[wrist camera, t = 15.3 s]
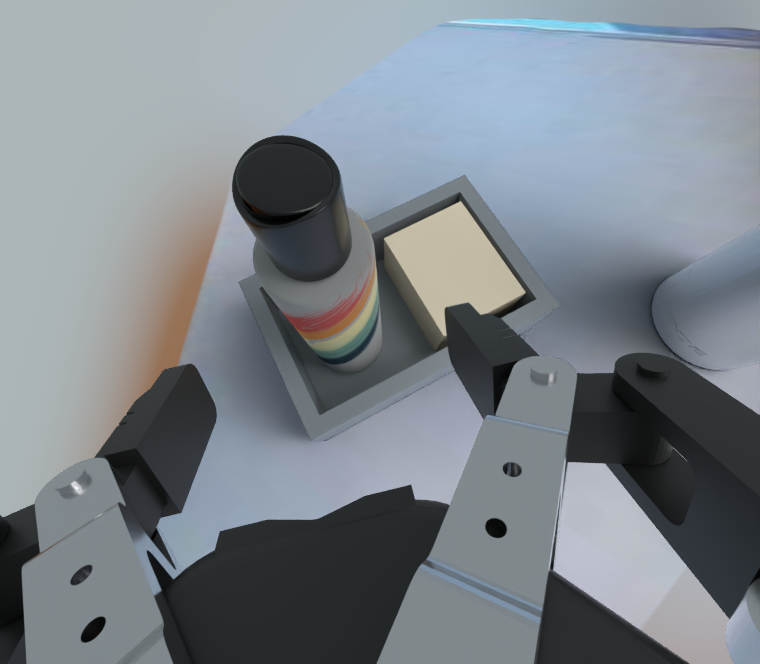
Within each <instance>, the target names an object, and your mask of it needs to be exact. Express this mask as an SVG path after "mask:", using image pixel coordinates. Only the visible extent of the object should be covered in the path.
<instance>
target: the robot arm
mask: <svg viewBox="0 0 760 664" xmlns="http://www.w3.org/2000/svg"><path fill="white" fill-rule="evenodd" d="M444 314H445V325H446V335H447V345H448V353H449V357H450V361H451V364H452V366H453V368H454V370H455V372H456V373H457V375H458V377H459V378H460V380H461V382H462V383H463V385H464V387H465V389H466V390H467V392H468V394H469V395H470V397H471V399H472V401H473V402H474V404H475V406H476V407H477V409H478V411H479V412H480V414H481V416H482V418H483V419H484V421H483V424H482V426H481V429H480V431H479V434H478V436H477V439H476V441H475V444H474V446H473V449H472V451H471V454H470V456H469V459H468V461H467V464H466V466H465V469H464V471H463V474H462V476H461V479H460V481H459V484H458V486H457V489H456V491H455V494H454V496H453V499H452V501H451V504H450V505H448V504H445V503H441V502H437V501H429V500H415V498H414V494H413V490H412V486H411V485H408V486H404V487H400V488H396V489H392V490H388V491H384V492H380V493H375V494H371V495H367V496H364V497H362V498H360V499H358V500H356V501H354V502H352V503H350V504H348V505H346V506H344V507H342V508H340V509H338V510H336V511H334V512H332V513H330V514H327V515H325V516H323V517H321V518H319V519H315V520H265V521H261V522H257V523H252V524H248V525H244V526H240V527H236V528H232V529H228V530H224V531H220V533H219V537H218V541H217V544H216V548H215V551H213V552H211V553H209V554H207V555H206V556H204V557H202V558H201V559H199V560H197V561H196V562H195V563H193V564H192V565H190V566H189V567H188V568H186V569H185V570H184V571H183V572H181V570H180V568H179V566H178V564H177V562H176V560H175V558H174V556H173V554H172V552H171V549H170V547H169V545H168V543H167V541H166V539H165V537H164V535H163V533H162V532H161V531H160V529H159V528H158V527H157V524H158V522H159V519H160V518H162V517H166V516H170V515H174V514H178V513H181V512H182V509H183V507H184V504H185V501H186V499H187V496H188V494H189V491H190V488H191V486H192V483H193V480H194V478H195V475H196V473H197V470H198V467H199V465H200V462H201V459H202V457H203V454H204V452H205V449H206V446H207V444H208V441H209V438H210V436H211V433H212V431H213V428H214V425H215V423H216V417H217V413H216V407H215V404H214V401H213V399H212V397H211V395H210V393H209V391H208V389H207V387H206V386H205V384H204V382H203V380H202V378H201V376H200V374H199V372H198V370H197V368H196V367H195V366H194V365H193V364H187V365H182V366H178V367H173V368H169V369H165V370H164V371H163V372H162V373H161V375H160V376H159V378H158V379H157V380H156V382H155V383H154V385H153V386H152V387H151V389H149V390H148V391H147V392H146V393H144V394H143V395H142V396H141V397H140V398H139V399H137V400H136V401H135V402H134V404H133V405H132V406H131V408H130V409H129V411H128V412H127V415H126V416H124V418H123V419H122V420H121V422H120V423H119V426H117V427H116V429H115V430H114V431H113V433H112V434H111V436H110V437H109V438H108V440H107V441H106V442H105V444H104V445H103V447H102V448H101V450H100V451H99V452H98V453H97V455H96V456H95V458H92V459H88V460H85V461H82V462H80V463H77V464H75V465H73V466H71V467H69V468H68V469H66V470H64V471H63V472H61V473H60V474H58V475H57V476H56V477H54V478H53V479H52V480H51V481H50V482H49V483H47V484H46V486H45V487H44V488H43V489H42V490H41V491H40V493H39V494H38V496H37V498H36V500H35V504H33V505H31V506H29V507H26V508H24V509H22V510H20V511H17V512H15V513H12V514H10V515H8V516H6V517H2V516H1V515H0V664H689V663H688V662H686V661H685V660H683V659H682V658H680V657H679V656H677V655H676V654H674V653H673V652H671V651H670V650H669V649H667V648H666V647H664V646H663V645H661V644H660V643H658V642H657V641H655V640H654V639H653V638H651V637H649V636H648V635H647V634H645V633H644V632H642V631H641V630H639V629H638V628H636V627H635V626H634V625H632V624H631V623H629V622H628V621H626V620H625V619H623V618H622V617H620V616H619V615H617V614H616V613H614V612H613V611H612V610H610V609H609V608H607V607H606V606H604V605H603V604H601V603H600V602H598V601H597V600H595V599H594V598H593V597H591V596H590V595H588V594H587V593H585V592H584V591H582V590H581V589H579V588H578V587H576V586H575V585H574V584H572V583H571V582H569V581H568V580H566V579H565V578H563V577H562V576H560V575H559V574H557V573H556V572H554V566H555V558H556V550H557V542H558V534H559V525H560V518H561V510H562V503H563V496H564V488H565V481H566V473H567V466H568V462H584V463H605V464H606V465H607V466H608V467H609V469H610V470H611V471H612V472H613V474H614V475H615V476H616V477H617V479H618V480H619V481H620V482H621V484H622V485H623V486H624V487H625V489H626V490H627V491H628V493H629V494H630V495H631V496H632V498H633V499H634V500H635V501H636V503H637V504H638V505H639V506H640V508H641V509H642V510H643V511H644V513H645V514H646V515H647V516H648V518H649V519H650V520H651V521H652V523H653V524H654V525H655V526H656V528H657V529H658V530H659V531H660V533H661V534H662V535H663V536H664V538H665V539H666V540H667V541H668V543H669V544H670V545H671V546H672V548H673V549H674V550H675V551H676V553H677V554H678V555H679V556H680V558H681V559H682V560H683V562H684V563H685V564H686V565H687V567H688V568H689V569H690V570H691V572H692V573H693V574H694V575H695V577H697V579H698V580H699V582H700V583H701V584H702V585H703V587H704V588H705V589H706V590H707V592H708V593H709V594H710V595H711V597H712V598H713V599H714V600H715V602H716V603H717V604H718V605H719V607H720V608H721V609H722V610H723V612H725V614H726V615H727V617H728V618H729V619H730V620H729V622H728V624H727V627H726V632H725V639H726V645H727V648H728V652H729V655H730V657H731V659H732V661H733V663H734V664H760V415H759V414H757V413H756V412H754V411H753V410H751V409H750V408H748V407H747V406H745V405H744V404H742V403H741V402H739V401H738V400H736V399H735V398H733V397H732V396H730V395H729V394H727V393H726V392H724V391H723V390H721V389H720V388H718V387H717V386H715V385H714V384H712V383H711V382H709V381H708V380H706V379H705V378H703V377H702V376H700V375H699V374H697V373H696V372H694V371H693V370H691V369H690V368H688V367H687V366H685V365H684V364H682V363H680V362H679V361H677V360H674V359H672V358H669V357H666V356H662V355H658V354H651V353H633V354H628V355H625V356H622V357H621V358H619V359H618V360H617V361H616V363H615V368H614V373H595V374H580V373H576V370H575V369H574V368H573V367H572V366H571V365H570V364H569V363H567V362H565V361H563V360H561V359H558V358H554V357H549V356H539V355H538V354H537V353H536V352H535V351H534V350H533V349H532V348H531V347H530V346H529V345H528V344H527V343H526V342H525V341H524V340H523V339H522V338H521V337H520V336H519V335H518V336H517V333H516V332H515V331H514V330H513V329H510V326H508V325H507V324H506V323H505V322H504V321H503V320H502V319H501V318H498V317H496V316H494V315H491V314H489V313H487V314H482V315H480V314H479V313H478V311H477V310H476V309H475V308H474V307H473V306H472V305H471V304H470V303H469V302H467V303H462V304H458V305H453V306H449V307H446V308H445V311H444ZM652 316H653V321H654V324H655V327H656V329H657V331H658V333H659V335H660V336H661V338H662V339H663V341H664V342H665V344H666V345H667V346H668V347H669V348H670V349H671V350H672V351H673V352H674V353H676V354H677V355H678V356H680V357H681V358H682V359H684V360H686V361H688V362H690V363H692V364H694V365H696V366H699V367H702V368H706V369H712V370H729V369H734V368H739V367H744V366H749V365H753V364H758V363H760V225H758V226H756V227H755V228H753V229H751V230H749V231H748V232H746V233H744V234H743V235H741V236H739V237H737V238H736V239H734V240H732V241H731V242H729V243H727V244H725V245H724V246H722V247H720V248H719V249H717V250H715V251H713V252H712V253H710V254H708V255H706V256H705V257H703V258H701V259H699V260H698V261H696V262H694V263H693V264H691V265H689V266H688V267H686V268H684V269H682V270H681V271H679V272H677V273H676V274H674V275H672V276H671V277H669V278H667V279H666V280H665V281H664V282H663V283H662V284H660V286H659V287H658V289H657V290H656V292H655V294H654V297H653V301H652ZM673 448H675V449H676V450H677V451H678V452H679V453H680V454H681V455H682V456H683V457H684V458H685V459H686V460H687V461H688V462H687V461H686V460H685V459H684V458H683V457H682V456H681V455H680V454H679V453H678V452H677V451H676V450H675V449H673Z"/></svg>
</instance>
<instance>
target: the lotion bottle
mask: <svg viewBox="0 0 760 664" xmlns="http://www.w3.org/2000/svg"><path fill="white" fill-rule="evenodd" d="M232 192H233V198H234V202H235V205H236V207H237V209H238V211H239V213H240V214H241V216H242V218H243V219H244V221H245V222H246V224H247V225H248V227H249V228H250V230H251V231H252V233H253V234H254V236H255V237H256V242H255V245H254V250H253V264H254V269H255V272H256V275H257V277H258V279H259V281H260V283H261V285H262V286H263V288H264V289H265V291H266V292H267V293H268V295H269V296H270V297H271V298H272V300H273V301H274V302H275V304H276V305H277V306H278V307H279V309H280V310H281V311H282V312H283V314H284V315H285V316H286V317H287V319H288V320H289V321H290V322H291V324H292V325H293V326H294V327H295V329H296V330H297V331H298V332H299V334H300V335H301V336H302V337H303V339H304V340H305V341H306V342H307V344H308V345H309V346H310V347H311V349H312V350H313V351H314V352H315V354H316V355H317V356H318V357H319V359H320V360H321V361H322V362H323V363H324V364H325V365H326V366H328V367H329V368H331V369H333V370H335V371H337V372H341V373H355V372H359V371H361V370H363V369H365V368H367V367H368V366H370V365H371V364H372V363H373V362H374V361H375V359H376V358H377V356H378V355H379V352H380V350H381V346H382V326H381V315H380V303H379V292H378V280H377V269H376V259H375V250H374V243H373V239H372V236H371V233H370V231H369V229H368V227H367V225H366V223H365V222H364V221H363V219H362V218H361V217H360V216H359V215H358V214H357V213H356V212H354V211H353V210H352V209H350V208H348V207H346V202H345V196H344V191H343V185H342V180H341V175H340V172H339V169H338V167H337V165H336V163H335V162H334V160H333V159H332V158H331V156H330V155H329V154H328V153H327V152H325V151H324V150H323V149H322V148H320V147H319V146H317V145H316V144H314V143H312V142H310V141H307V140H305V139H302V138H299V137H294V136H284V135H281V136H272V137H268V138H265V139H263V140H260V141H259V142H257V143H255V144H254V145H252V146H251V147H250V148H249V149H248V150H247V151H246V152H245V153H244V154H243V156H242V157H241V158H240V160H239V162H238V164H237V166H236V169H235V172H234V175H233V182H232Z"/></svg>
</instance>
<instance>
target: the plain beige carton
mask: <svg viewBox="0 0 760 664" xmlns="http://www.w3.org/2000/svg"><path fill="white" fill-rule="evenodd" d="M384 268H385V270H386V271H387V273H388V275H389V276H390V278H391V280H392V281H393V283H394V285H395V286H396V288H397V290H398V291H399V293H400V295H401V296H402V298H403V300H404V301H405V303H406V305H407V306H408V308H409V310H410V311H411V313H412V315H413V316H414V318H415V320H416V322H417V323H418V325H419V327H420V328H421V330H422V332H423V333H424V335H425V337H426V338H427V340H428V342H429V343H430V345H431V347H432V348H433V350H434V352H437V351H439V350H441V349H443V348H445V347H446V346H448V345H447V335H446V325H445V314H444V311H445V308H446V307H449V306H453V305H458V304H462V303H467V302H469V303H470V304H471V305H472V306H473V307H474V308H475V309H476V310H477V311H478V313H479V314H480V315H482V314H487V313H489V314H491V315H494V316H496V317H498V318H501V317H502V316H504V315H505V314H506V313H507V312H508V311H509V310H510V309H511V308H512V307H513V306H514V305H515V304H516V303H517V302H518V300H519V299H520V298H521V297H522V296H523V295H524V294H525V293H526V292H525V291H524V289H523V288H522V286H521V285H520V284H519V282H518V281H517V279H516V278H515V277H514V275H513V274H512V272H511V271H510V270H509V268H508V267H507V265H506V264H505V262H504V261H503V260H502V258H501V257H500V255H499V254H498V253H497V251H496V250H495V248H494V247H493V246H492V244H491V243H490V241H489V240H488V239H487V237H486V236H485V234H484V233H483V231H482V230H481V229H480V227H479V226H478V224H477V223H476V222H475V220H474V219H473V217H472V216H471V215H470V213H469V212H468V210H467V209H466V208H465V206H464V205H463V203H462V202H461V201H460V202H458V203H456V204H454V205H452V206H450V207H448V208H446V209H444V210H442V211H440V212H437V213H435V214H433V215H431V216H429V217H427V218H425V219H423V220H421V221H419V222H417V223H415V224H413V225H411V226H408V227H406V228H404V229H402V230H400V231H398V232H396V233H394V234H392V235H390V236H388V237H386V238H384Z"/></svg>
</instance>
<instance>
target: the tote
mask: <svg viewBox="0 0 760 664" xmlns="http://www.w3.org/2000/svg"><path fill="white" fill-rule="evenodd" d="M460 201H461V202H462V203H463V205H464V206H465V208H466V209H467V210H468V212H469V213H470V215H471V216H472V217H473V219H474V220H475V222H476V223H477V224H478V226H479V227H480V229H481V230H482V231H483V233H484V234H485V236H486V237H487V239H488V240H489V241H490V243H491V244H492V246H493V247H494V248H495V250H496V251H497V253H498V254H499V255H500V257H501V258H502V260H503V261H504V262H505V264H506V265H507V267H508V268H509V270H510V271H511V272H512V274H513V275H514V277H515V278H516V279H517V281H518V282H519V284H520V285H521V286H522V288H523V289H524V291H525V292H526V293H525V294H524V295H523V296H522V297H521V298H520V299H519V300H518V302H517V303H516V304H515V305H514V306H513V307H512V308H511V309H510V310H509V311H508V312H507V313H506V314H505V315H504V316H502V317H501V319H502V320H503V321H504V322H505V323H506V324H507V325H508V326H510V329H513V330H514V331H515V332H516V333H517V336H518V335H520V334H522V333H524V332H526V331H528V330H529V329H531V328H532V327H533V326H534V325H536V324H537V323H538V322H540V321H541V320H542V319H543V318H545V317H546V316H547V315H548V314H550V313H551V312H552V311H553V310H555V309H556V308H557V307H559V306H560V304H559V303H558V302H557V300H556V299H555V297H554V296H553V295H552V293H551V292H550V291H549V289H548V288H547V287H546V285H545V284H544V282H543V281H542V280H541V278H540V277H539V276H538V274H537V273H536V272H535V270H534V269H533V267H532V266H531V265H530V263H529V262H528V261H527V259H526V258H525V257H524V255H523V254H522V252H521V251H520V250H519V248H518V247H517V246H516V244H515V243H514V241H513V240H512V239H511V237H510V236H509V235H508V233H507V232H506V231H505V229H504V228H503V226H502V225H501V224H500V222H499V221H498V220H497V218H496V217H495V216H494V214H493V213H492V211H491V210H490V209H489V207H488V206H487V205H486V203H485V202H484V201H483V199H482V198H481V196H480V195H479V194H478V192H477V191H476V190H475V188H474V187H473V185H472V184H471V183H470V181H469V180H468V179H467V177H466V176H465V175H463V176H461V177H459V178H457V179H455V180H453V181H451V182H449V183H447V184H444V185H442V186H440V187H438V188H436V189H434V190H432V191H430V192H428V193H425V194H423V195H421V196H419V197H417V198H415V199H413V200H411V201H409V202H406V203H404V204H402V205H400V206H398V207H396V208H394V209H392V210H390V211H387V212H385V213H383V214H381V215H379V216H377V217H375V218H373V219H371V220H368V221H366V222H365V223H366V225H367V227H368V229H369V231H370V233H371V236H372V239H373V243H374V250H375V259H376V269H377V280H378V292H379V303H380V315H381V326H382V346H381V350H380V352H379V355H378V356H377V358H376V359H375V361H374V362H373V363H372V364H371V365H370V366H368V367H367V368H365V369H363V370H361V371H359V372H355V373H341V372H337V371H335V370H333V369H331V368H329V367H328V366H326V365H325V364H324V363H323V362H322V361H321V360H320V359H319V357H318V356H317V355H316V354H315V352H314V351H313V350H312V349H311V347H310V346H309V345H308V344H307V342H306V341H305V340H304V339H303V337H302V336H301V335H300V334H299V332H298V331H297V330H296V329H295V327H294V326H293V325H292V324H291V322H290V321H289V320H288V319H287V317H286V316H285V315H284V314H283V312H282V311H281V310H280V309H279V307H278V306H277V305H276V304H275V302H274V301H273V300H272V298H271V297H270V296H269V295H268V293H267V292H266V291H265V289H264V288H263V286H262V285H261V283H260V281H259V279H258V277H257V275H256V274H254V275H252V276H250V277H248V278H246V279H244V280H242V281H240V282H239V285H240V287H241V289H242V291H243V293H244V296H245V298H246V300H247V302H248V304H249V307H250V309H251V311H252V313H253V315H254V318H255V320H256V322H257V324H258V326H259V328H260V331H261V333H262V335H263V337H264V339H265V342H266V344H267V346H268V348H269V350H270V353H271V355H272V357H273V359H274V361H275V364H276V366H277V368H278V370H279V372H280V374H281V377H282V379H283V381H284V383H285V385H286V388H287V390H288V392H289V394H290V396H291V399H292V401H293V403H294V405H295V407H296V410H297V412H298V414H299V416H300V418H301V420H302V423H303V425H304V427H305V429H306V431H307V434H308V436H309V438H310V440H311V441H326V440H328V439H330V438H332V437H334V436H336V435H337V434H339V433H341V432H343V431H345V430H346V429H348V428H350V427H352V426H354V425H356V424H357V423H359V422H361V421H363V420H365V419H367V418H368V417H370V416H372V415H374V414H376V413H378V412H379V411H381V410H383V409H385V408H387V407H389V406H390V405H392V404H394V403H396V402H398V401H400V400H401V399H403V398H405V397H407V396H409V395H411V394H412V393H414V392H416V391H418V390H420V389H422V388H423V387H425V386H427V385H429V384H431V383H432V382H434V381H436V380H438V379H440V378H442V377H443V376H445V375H447V374H449V373H451V372H453V371H454V368H453V366H452V364H451V361H450V357H449V353H448V346H446V347H445V348H443V349H441V350H439V351H437V352H434V350H433V348H432V347H431V345H430V343H429V342H428V340H427V338H426V337H425V335H424V333H423V332H422V330H421V328H420V327H419V325H418V323H417V322H416V320H415V318H414V316H413V315H412V313H411V311H410V310H409V308H408V306H407V305H406V303H405V301H404V300H403V298H402V296H401V295H400V293H399V291H398V290H397V288H396V286H395V285H394V283H393V281H392V280H391V278H390V276H389V275H388V273H387V271H386V270H385V268H384V238H386V237H388V236H390V235H392V234H394V233H396V232H398V231H400V230H402V229H404V228H406V227H408V226H411V225H413V224H415V223H417V222H419V221H421V220H423V219H425V218H427V217H429V216H431V215H433V214H435V213H437V212H440V211H442V210H444V209H446V208H448V207H450V206H452V205H454V204H456V203H458V202H460Z"/></svg>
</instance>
